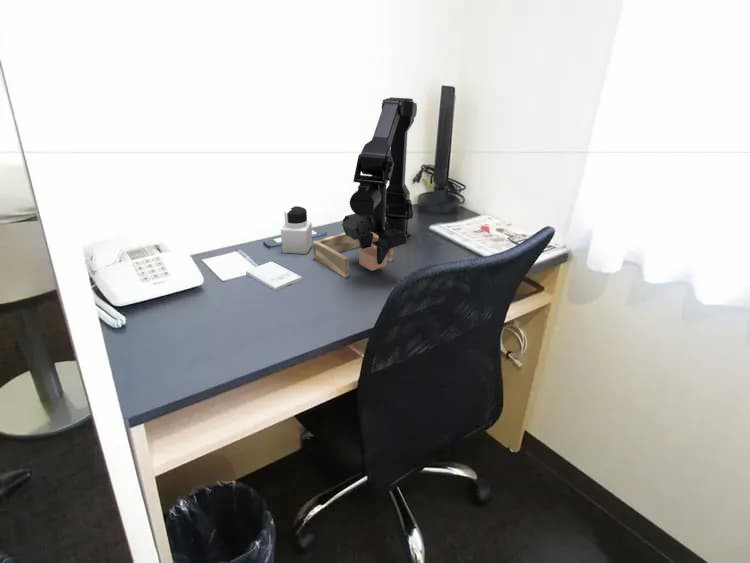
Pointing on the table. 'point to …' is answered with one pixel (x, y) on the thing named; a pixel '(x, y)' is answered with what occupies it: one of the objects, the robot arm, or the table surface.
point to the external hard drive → (273, 275)
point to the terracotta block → (370, 258)
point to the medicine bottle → (296, 231)
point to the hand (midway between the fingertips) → (373, 260)
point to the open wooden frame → (331, 248)
